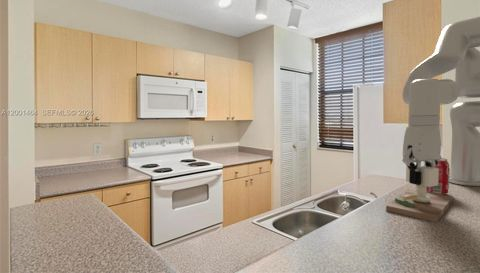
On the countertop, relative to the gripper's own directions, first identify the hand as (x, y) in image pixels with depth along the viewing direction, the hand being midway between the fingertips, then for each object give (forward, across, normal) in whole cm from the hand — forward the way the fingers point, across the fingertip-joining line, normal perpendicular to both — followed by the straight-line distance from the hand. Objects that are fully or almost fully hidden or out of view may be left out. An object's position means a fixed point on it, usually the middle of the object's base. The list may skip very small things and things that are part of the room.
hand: (421, 182), depth 79 cm
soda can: (+7, -17, -8) cm, 20 cm away
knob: (+5, +2, 0) cm, 6 cm away
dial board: (+7, 0, 0) cm, 7 cm away
